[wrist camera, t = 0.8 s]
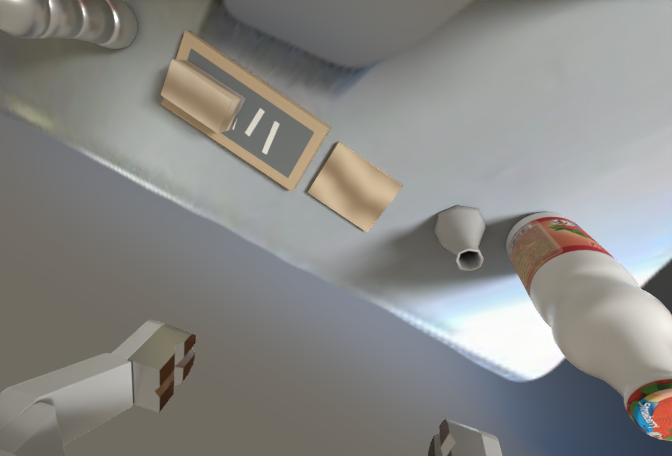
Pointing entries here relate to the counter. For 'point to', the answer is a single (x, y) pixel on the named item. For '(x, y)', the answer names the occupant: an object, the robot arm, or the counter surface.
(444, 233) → the flask
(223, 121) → the block
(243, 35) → the counter surface
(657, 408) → the fruit juice
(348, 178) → the pad
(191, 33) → the chalkboard
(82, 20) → the plastic bottle
